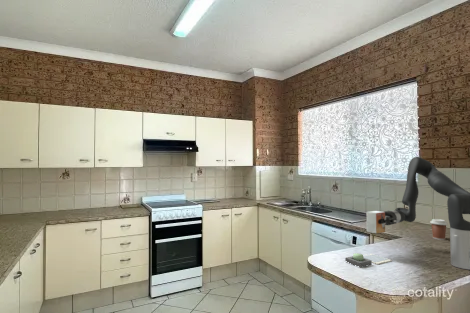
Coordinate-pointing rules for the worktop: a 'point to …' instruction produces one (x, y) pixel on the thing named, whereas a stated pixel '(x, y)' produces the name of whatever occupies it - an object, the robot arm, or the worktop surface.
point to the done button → (358, 257)
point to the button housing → (359, 263)
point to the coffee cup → (438, 228)
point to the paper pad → (377, 259)
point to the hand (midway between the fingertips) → (373, 220)
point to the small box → (375, 221)
